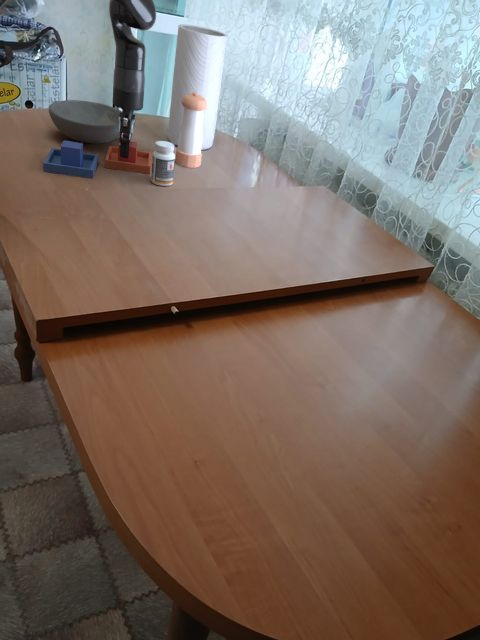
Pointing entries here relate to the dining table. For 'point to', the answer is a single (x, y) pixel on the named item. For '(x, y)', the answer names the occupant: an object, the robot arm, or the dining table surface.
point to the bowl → (86, 120)
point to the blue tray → (54, 166)
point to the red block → (132, 153)
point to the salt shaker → (191, 131)
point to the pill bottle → (163, 164)
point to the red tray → (140, 166)
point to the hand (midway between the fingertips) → (125, 152)
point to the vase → (197, 77)
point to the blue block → (72, 153)
